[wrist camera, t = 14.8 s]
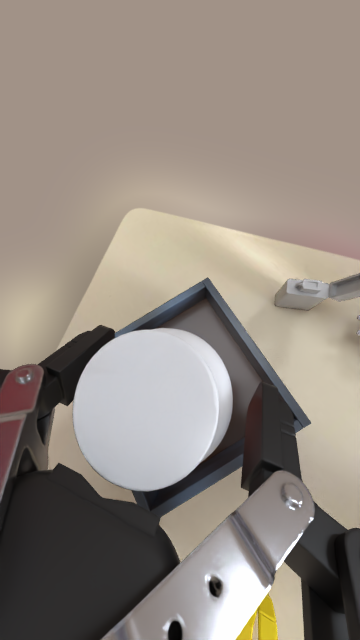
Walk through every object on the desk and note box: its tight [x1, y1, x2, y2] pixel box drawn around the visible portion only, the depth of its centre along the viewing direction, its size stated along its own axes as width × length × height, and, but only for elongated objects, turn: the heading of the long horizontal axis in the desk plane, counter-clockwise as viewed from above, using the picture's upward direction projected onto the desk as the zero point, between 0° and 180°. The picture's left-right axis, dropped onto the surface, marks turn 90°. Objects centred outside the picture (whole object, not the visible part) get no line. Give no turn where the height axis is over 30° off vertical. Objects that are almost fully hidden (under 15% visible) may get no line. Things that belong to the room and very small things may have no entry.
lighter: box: [275, 273, 360, 310], centre depth 22 cm, size 7×2×8 cm, turn 78°
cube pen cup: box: [115, 278, 311, 517], centre depth 20 cm, size 12×12×12 cm
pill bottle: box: [73, 328, 233, 491], centre depth 12 cm, size 6×6×11 cm
